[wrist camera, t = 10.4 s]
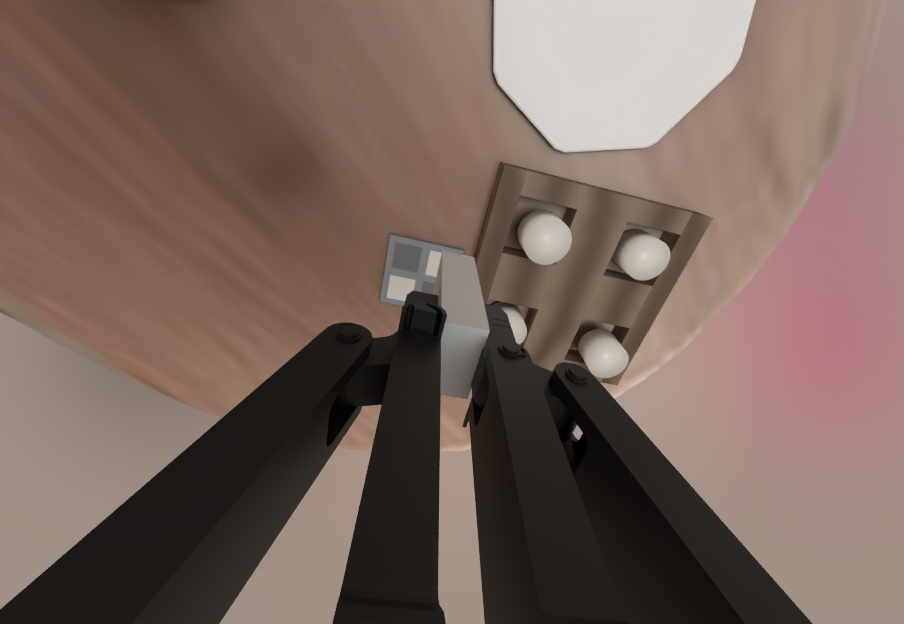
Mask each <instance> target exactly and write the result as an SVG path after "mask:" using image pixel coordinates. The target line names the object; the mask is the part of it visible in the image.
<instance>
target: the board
mask: <svg viewBox="0 0 904 624" xmlns="http://www.w3.org/2000/svg"><path fill="white" fill-rule="evenodd" d="M520 195H521V196H525V197H529V198H533V199H537V200H541V201H545V202H549V203H553V204H557V205H561V206H565V207H567V210H566V213H565V215H564V218H563V222H564V223H565V224H566V225H567V226H568V227H569V229H570V231H571V235H572V243H571V246H570V249H569V251H568V252H567V254H566V255H565V256H564V257H563V258H562V259H561V260H559V261H558V262H556V263H553V264H549V265H541V264H537V263H535V262H533V261H532V260H531V259H530V258H529V257H528V256H527V254H526V253H525V251H524V250H519V249H515V248H511V247H506V246H505V243H506V239H507V236H508V233H509V230H510V227H511V223H512V220H513V217H514V214H515V211H516V207H517V204H518V201H519V198H520ZM712 219H713V218H711V217H709V216H706V215H703V214H700V213H697V212H694V211H690V210H686V209H682V208H678V207H675V206H671V205H667V204H663V203H659V202H655V201H651V200H647V199H643V198H639V197H636V196H632V195H628V194H624V193H620V192H616V191H612V190H608V189H604V188H600V187H596V186H593V185H589V184H585V183H581V182H577V181H573V180H569V179H565V178H561V177H557V176H553V175H550V174H546V173H542V172H538V171H534V170H530V169H526V168H522V167H518V166H514V165H511V164H507V163H503V162H501V163H500V166H499V170H498V173H497V177H496V181H495V184H494V188H493V192H492V195H491V199H490V202H489V206H488V210H487V213H486V217H485V221H484V224H483V228H482V231H481V235H480V239H479V242H478V246H477V250H476V253H475V257H474V259H475V264H476V268H477V273H478V278H479V282H480V287H481V292H482V296H483V301H484V304H486V303H487V300H488V299H491V300H496V301H500V302H505V303H510V304H515V305H520V306H525V307H530V308H529V311H528V313H527V316H526V318H525V321H524V322H525V325H526V328H527V335H526V338H525V340H524V341H523V342H522V343H521V344H520V345H521V346H523V347H524V348H525V349H526V350H527V351H528V353H529V354H530V356H531V359H532V362H533V364H535V365H537V366H540V367H542V368H545V369H547V370H550V371H553V370H554V368H555V366H556V365H557V364H558V363H563V362H567V363H573V364H576V365H579V366H581V367H583V368H584V369H586V370H587V371H589V372H590V370H589V368H588V367H587V365H586V363H585V362H584V360H583V358H582V356H581V355H580V353H579V351H575V350H569V348H570V346H571V343H572V341H573V339H574V337H575V335H576V333H577V331H578V328H579V326H580V324H581V322H582V320H583V319H588V320H593V321H598V322H602V323H607V324H612V325H615V327H614V329H613V331H612V334H613V335H614V337H615V338H616V339H617V340H618V342H619V343H620V344H621V345H622V347H623V348H624V349H625V351H626V352H627V353H628V357H629V361H628V364H627V366H626V368H625V369H624V370H623V371H622V372H621V373H619V374H618V375H616V376H613V377H610V378H599V377H596V376H594V375H593V374H592V373H591V372H590V373H591V374H592V375H593V376H594V377H595V378H596V379H597V380H598V381H599V382H602V383H608V384H613V385H618V383H619V381H620V379H621V378H622V376H623V374H624V372H625V371H626V369H627V367H628V365H629V364H630V362H631V360H632V358H633V357H634V355H635V353H636V351H637V350H638V348H639V346H640V344H641V343H642V341H643V339H644V337H645V336H646V334H647V332H648V330H649V329H650V327H651V325H652V323H653V322H654V320H655V318H656V317H657V315H658V313H659V311H660V310H661V308H662V306H663V304H664V303H665V301H666V299H667V297H668V296H669V294H670V292H671V290H672V289H673V287H674V285H675V283H676V282H677V280H678V278H679V276H680V275H681V273H682V271H683V269H684V268H685V266H686V264H687V262H688V261H689V259H690V257H691V255H692V254H693V252H694V250H695V249H696V247H697V245H698V243H699V242H700V240H701V238H702V236H703V235H704V233H705V231H706V229H707V228H708V226H709V224H710V222H711V221H712ZM628 222H630V223H635V224H639V225H643V226H647V227H651V228H655V229H659V230H663V231H664V233H663V235H662V237H661V239H660V240H661V241H663V242H664V243H666V245H667V246H668V247H669V249H670V260H669V263H668V265H667V267H666V268H665V269H664V271H663V272H662V273H660V274H659V275H658V276H656V277H654V278H652V279H649V280H636V279H634V278H632V277H631V276H630V275H629V274H625V273H621V272H617V271H612V270H608V269H606V268H607V266H608V264H609V262H610V260H611V257H612V255H613V253H614V251H615V249H616V247H617V245H618V242H619V240H620V238H621V236H622V234H623V232H624V229H625V227H626V225H627V223H628Z"/></svg>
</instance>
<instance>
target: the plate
mask: <svg viewBox="0 0 904 624" xmlns="http://www.w3.org/2000/svg"><path fill="white" fill-rule="evenodd" d="M755 2H756V0H494V33H493V72H494V75H495V78H496V81H497V84H498V85H499V86H500V87H501V88H502V90H503V91H504V92H505V93H506V94H507V95H508V96H509V98H510V99H511V100H512V101H513V102H514V103H515V104H516V106H517V107H518V108H519V109H520V110H521V111H522V112H523V113H524V115H525V116H526V117H527V118H528V119H529V120H530V121H531V123H532V124H533V125H534V126H535V127H536V128H537V129H538V131H539V132H540V133H541V134H542V135H543V136H544V137H545V139H546V140H547V141H548V142H549V143H550V144H551V145H552V147H553V148H554V149H557V150H559V151H561V152H564V153H566V152H584V151H602V150H620V149H638V148H646V147H649V146H651V145H653V144H655V143H657V142H658V141H659V140H660V139H661V138H662V137H663V136H664V135H665V134H666V133H667V132H668V131H669V130H670V129H671V128H672V127H673V126H674V125H676V124H677V123H678V122H679V121H680V120H681V119H682V118H683V117H684V116H685V115H686V114H687V113H688V112H689V111H690V110H691V109H692V108H693V107H695V106H696V105H697V104H698V103H699V102H700V101H701V100H702V99H703V98H704V97H705V96H706V95H707V94H708V93H709V92H710V91H711V90H712V89H713V88H715V87H716V86H717V85H718V84H719V83H720V82H721V81H722V80H723V79H724V78H725V77H726V76H727V75H728V74H729V73H730V72H731V71H732V70H733V69H734V67H735V65H736V64H737V62H738V60H739V59H740V57H741V53H742V50H743V46H744V42H745V39H746V35H747V31H748V28H749V24H750V20H751V17H752V13H753V9H754V6H755Z"/></svg>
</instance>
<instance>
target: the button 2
mask: <svg viewBox="0 0 904 624" xmlns="http://www.w3.org/2000/svg"><path fill="white" fill-rule="evenodd" d="M517 237H518V241H519V243H520V245H521V246H522V248H523V249H524V251H525V253H526V254H527V256H528V257H529V258H530V259H531V260H532V261H533V262H535V263H537V264H541V265H549V264H553V263H556V262H558V261H559V260H561V259H562V258H563V257H564V256H565V255H566V254H567V252H568V251H569V249H570V246H571V243H572V235H571V231H570V229H569V227H568V226H567V225H566V224H565V223H564V222H563V221H561V220H560V219H559V218H558V217H557V216H556V215H554V214H553V213H552V212H550V211H547V210H536V211H533V212H531V213H529V214H527V215H526V216H525V217H524V218H523V219H522V221H521V222H520V224H519V226H518V230H517Z"/></svg>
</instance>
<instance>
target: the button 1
mask: <svg viewBox="0 0 904 624" xmlns="http://www.w3.org/2000/svg"><path fill="white" fill-rule="evenodd" d="M492 306H497V307H501V308H502V309H503V310H504V312H505V313H506V314H507V315H508V318H509V323H510V325H511V328H512V331H513V334H514V337H515V340H516V343H518V344H521V343H522V342H523V341H524V340H525V338H526V335H527V328H526V325H525V322H524V320H523V317H522V315H521V312H520V310H519V308H518V307H517V306H516V305H515V304H510V303H505V302H497V303H495V304H493V305H492Z"/></svg>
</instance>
